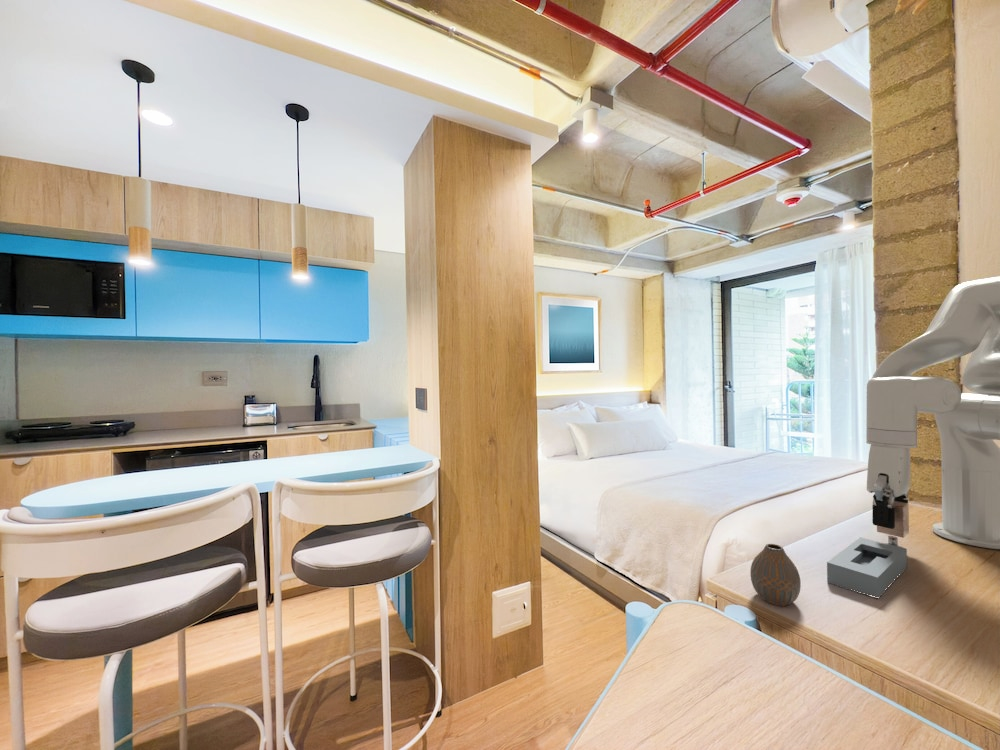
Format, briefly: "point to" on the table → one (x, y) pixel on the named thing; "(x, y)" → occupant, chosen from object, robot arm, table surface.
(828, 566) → the keyhole plate
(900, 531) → the key
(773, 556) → the vase
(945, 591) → the table surface
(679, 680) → the table surface
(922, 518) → the table surface
